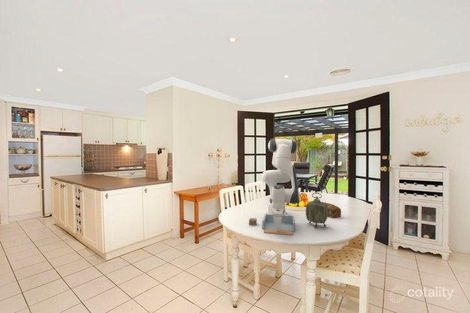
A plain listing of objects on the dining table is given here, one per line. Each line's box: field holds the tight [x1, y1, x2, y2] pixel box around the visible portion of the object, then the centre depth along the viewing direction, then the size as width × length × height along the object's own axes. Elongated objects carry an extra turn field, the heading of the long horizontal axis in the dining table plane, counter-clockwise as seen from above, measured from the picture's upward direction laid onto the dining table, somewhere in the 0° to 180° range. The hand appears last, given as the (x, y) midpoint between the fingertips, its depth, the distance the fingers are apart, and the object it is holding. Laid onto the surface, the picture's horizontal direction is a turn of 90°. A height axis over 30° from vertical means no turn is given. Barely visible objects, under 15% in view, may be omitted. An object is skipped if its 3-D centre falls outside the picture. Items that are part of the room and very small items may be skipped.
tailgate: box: [263, 229, 294, 236], centre depth 148 cm, size 1×19×7 cm
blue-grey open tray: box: [261, 213, 296, 233], centre depth 159 cm, size 17×22×7 cm
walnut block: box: [248, 217, 258, 226], centre depth 164 cm, size 5×5×5 cm
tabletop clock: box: [305, 192, 328, 228], centre depth 162 cm, size 14×9×25 cm, turn 59°
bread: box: [323, 201, 342, 219], centre depth 192 cm, size 19×11×10 cm, turn 25°
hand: (278, 230), depth 147 cm, fingers closed
